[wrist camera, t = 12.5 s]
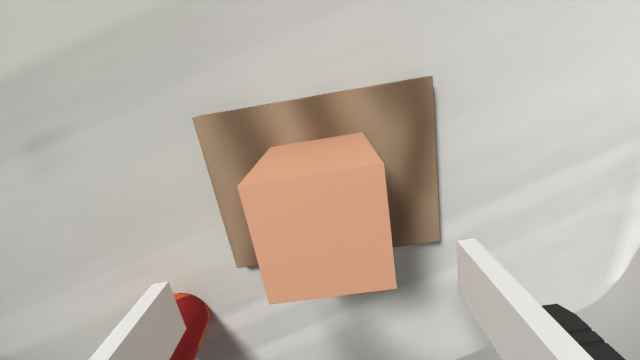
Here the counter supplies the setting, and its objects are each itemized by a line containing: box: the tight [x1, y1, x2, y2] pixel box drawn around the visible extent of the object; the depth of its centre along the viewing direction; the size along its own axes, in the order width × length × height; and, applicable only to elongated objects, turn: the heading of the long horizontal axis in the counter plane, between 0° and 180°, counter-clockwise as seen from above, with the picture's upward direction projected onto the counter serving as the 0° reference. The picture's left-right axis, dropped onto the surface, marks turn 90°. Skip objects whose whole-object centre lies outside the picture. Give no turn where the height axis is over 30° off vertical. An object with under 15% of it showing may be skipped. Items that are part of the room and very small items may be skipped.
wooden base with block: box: [192, 76, 440, 268], centre depth 24 cm, size 20×15×10 cm
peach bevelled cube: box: [237, 132, 397, 304], centre depth 22 cm, size 8×8×10 cm
